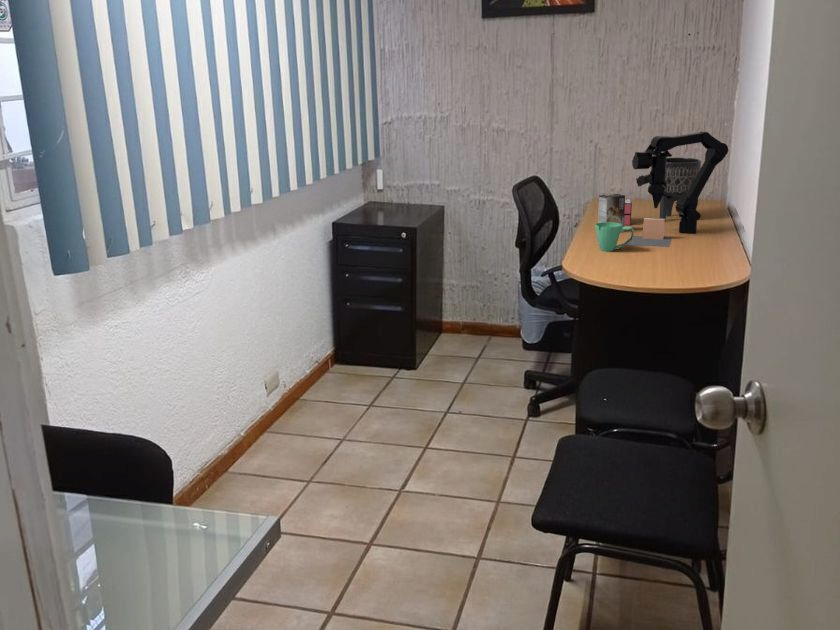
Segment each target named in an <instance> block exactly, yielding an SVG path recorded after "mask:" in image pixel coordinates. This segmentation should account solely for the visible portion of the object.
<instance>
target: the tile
mask: <svg viewBox="0 0 840 630" xmlns="http://www.w3.org/2000/svg"><path fill="white" fill-rule="evenodd" d="M665 222H666V221H665V219H660V218H650V217H649V218H648V217H644V218H643V224H642V226H643V229H642V236H643V239H662V240H663V239H664V237H665Z"/></svg>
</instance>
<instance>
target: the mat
mask: <svg viewBox="0 0 840 630" xmlns="http://www.w3.org/2000/svg"><path fill="white" fill-rule="evenodd" d="M672 238H673V237H671V236H664V239H663V240H662V239H643V235H633V239H632V240H631V241H630V242H629V243H628V244H626V246H638V247H639V246H641V247H659V248H660V247H661V248H670V245H671V241H672Z"/></svg>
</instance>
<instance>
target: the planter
mask: <svg viewBox="0 0 840 630" xmlns="http://www.w3.org/2000/svg"><path fill="white" fill-rule="evenodd" d="M702 162H703V161H702V159H698V158H695V157H694V158H692V157H667V160H666V176H665V180H666V181H667V185H666V189H665V191H664V194H663V196H662V198H661V201H660V203H659V219H665V222H666V220H667V217H672V213H673V207H674V204H675V203H676V202H677V201H678V199H679V196H680V195H685V194H686V193H687V192H688V191H689V189H690V187H691V185H692V183H693V182H694V180H695V178H696V176H697V174H698V172H699V171H700V169H701V167H702Z"/></svg>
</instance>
